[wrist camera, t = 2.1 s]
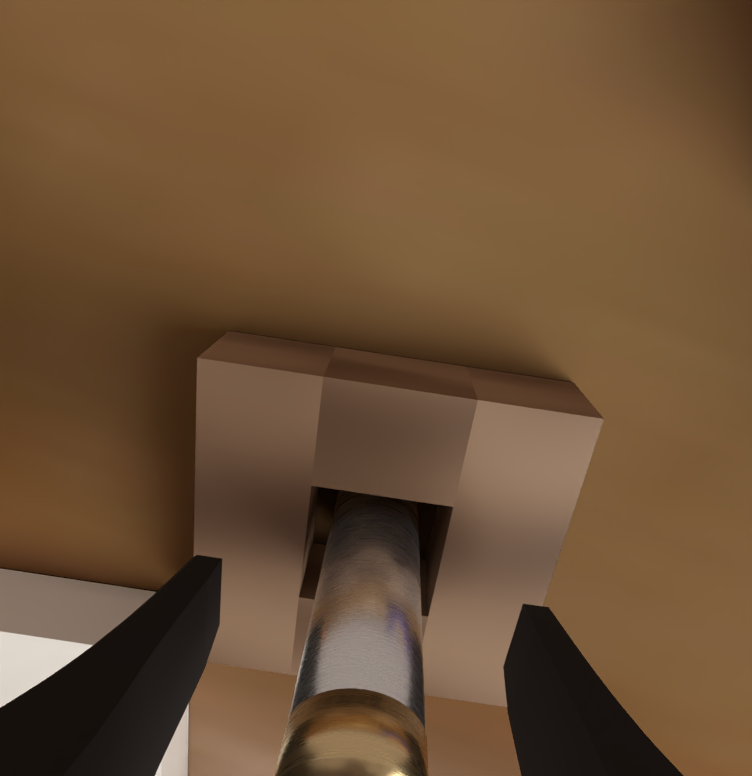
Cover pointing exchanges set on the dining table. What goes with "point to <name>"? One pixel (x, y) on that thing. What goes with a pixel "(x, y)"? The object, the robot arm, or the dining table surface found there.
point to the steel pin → (362, 650)
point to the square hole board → (383, 492)
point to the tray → (65, 636)
